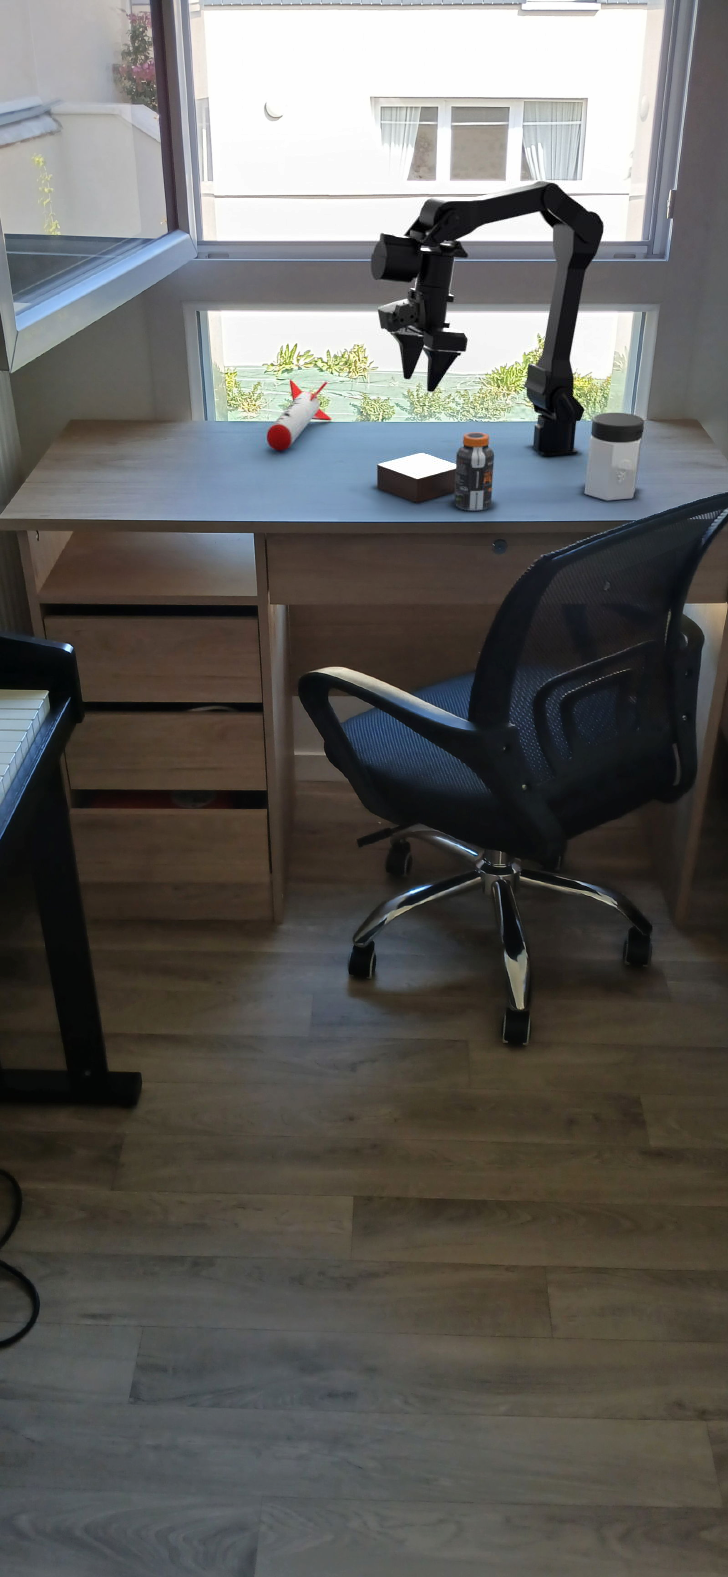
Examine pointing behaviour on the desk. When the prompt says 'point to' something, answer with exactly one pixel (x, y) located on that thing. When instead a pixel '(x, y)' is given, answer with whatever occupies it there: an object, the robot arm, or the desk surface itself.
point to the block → (417, 477)
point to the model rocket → (295, 418)
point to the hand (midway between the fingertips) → (418, 384)
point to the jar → (614, 456)
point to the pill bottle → (474, 472)
